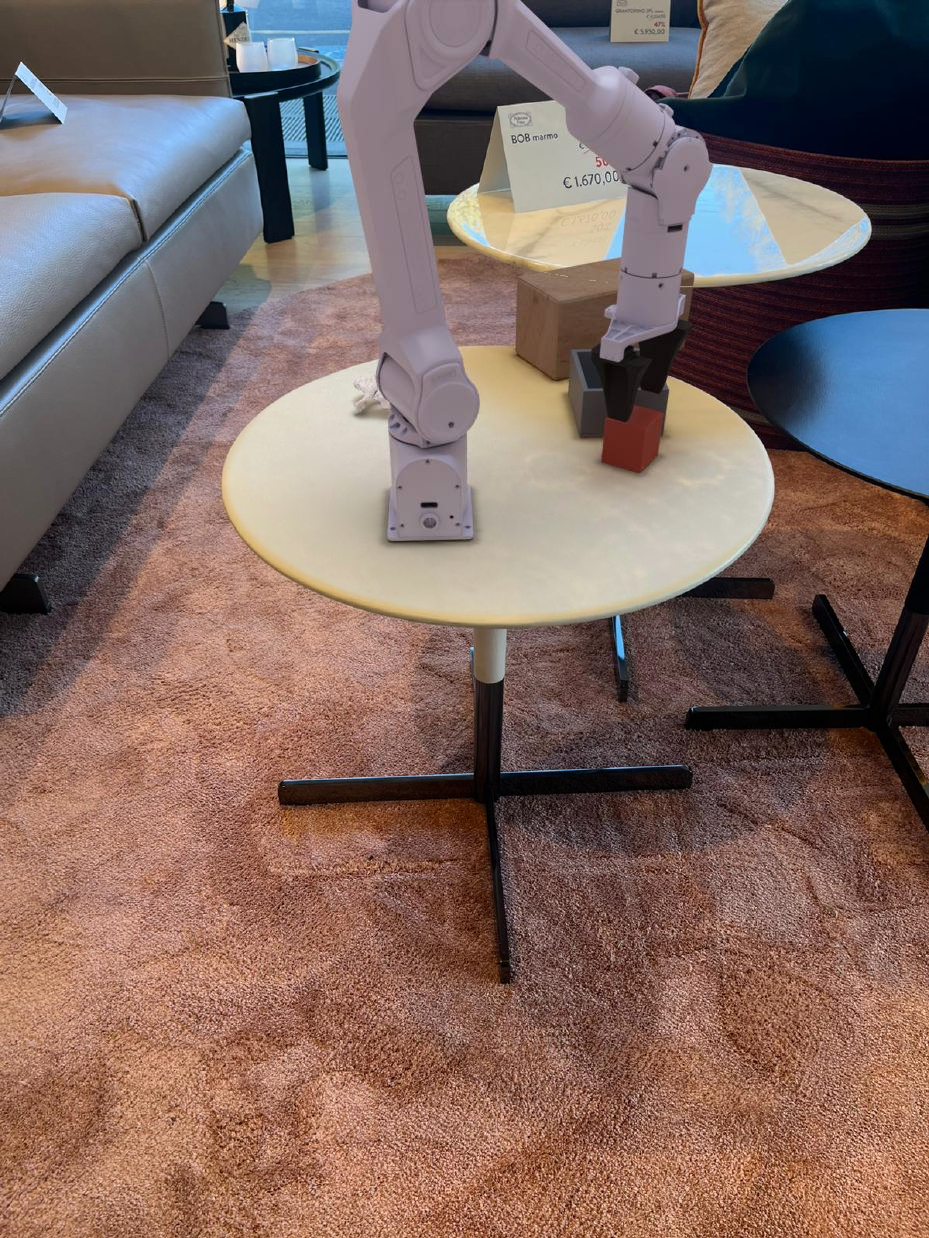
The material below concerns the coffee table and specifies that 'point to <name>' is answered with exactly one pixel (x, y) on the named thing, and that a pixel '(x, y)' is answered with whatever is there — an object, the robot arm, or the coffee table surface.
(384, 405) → the white lumpy piece
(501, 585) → the coffee table surface
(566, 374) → the wooden block
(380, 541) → the coffee table surface
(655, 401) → the tub
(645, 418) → the block
